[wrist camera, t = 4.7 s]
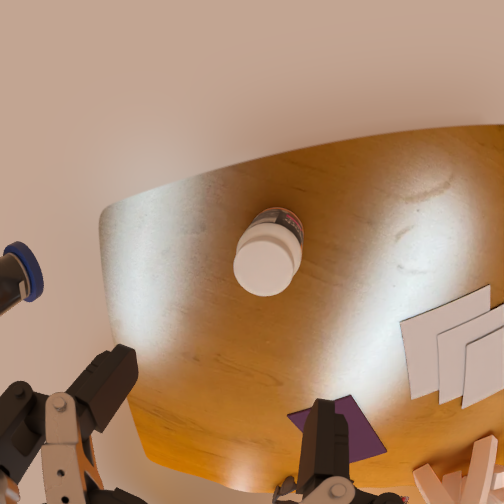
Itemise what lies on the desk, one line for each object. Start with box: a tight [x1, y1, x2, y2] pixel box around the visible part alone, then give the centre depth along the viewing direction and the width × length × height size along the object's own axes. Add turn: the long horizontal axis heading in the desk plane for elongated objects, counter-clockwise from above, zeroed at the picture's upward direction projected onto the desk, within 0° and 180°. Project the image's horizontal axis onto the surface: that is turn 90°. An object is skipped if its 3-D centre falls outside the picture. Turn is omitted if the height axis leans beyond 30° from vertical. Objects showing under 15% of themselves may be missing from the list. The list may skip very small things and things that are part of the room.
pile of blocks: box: [413, 435, 504, 504], centre depth 32 cm, size 35×30×35 cm
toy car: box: [401, 496, 409, 504], centre depth 51 cm, size 4×8×3 cm, turn 148°
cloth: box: [287, 395, 387, 463], centre depth 42 cm, size 22×11×1 cm, turn 34°
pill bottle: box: [233, 207, 304, 296], centre depth 27 cm, size 6×6×10 cm
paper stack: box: [400, 285, 504, 409], centre depth 32 cm, size 23×25×1 cm
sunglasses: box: [272, 476, 354, 504], centre depth 51 cm, size 16×17×5 cm
